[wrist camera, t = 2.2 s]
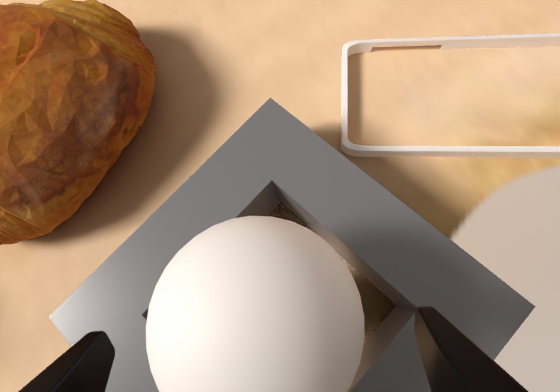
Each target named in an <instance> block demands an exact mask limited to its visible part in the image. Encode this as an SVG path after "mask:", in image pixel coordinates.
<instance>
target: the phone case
mask: <svg viewBox="0 0 560 392" xmlns="http://www.w3.org/2000/svg"><path fill="white" fill-rule="evenodd" d="M427 45H441V46H440V47H441V50H465V49H499V48H532V47H560V33H545V34H516V35H486V36H456V37H426V38H397V39H367V40H354V41H350V42H348V43H346V44H344V45H343V48H342V83H341V149H342V151H343V152H344V153H346V154H348V155H351V156H356V157H455V158H560V146H363V145H357V144H354V143H352V142H350V141H349V140H348V83H347V57H349V56H350V55H352V54H356V53H364V52H371V50H372V47H394V46H427Z"/></svg>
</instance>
